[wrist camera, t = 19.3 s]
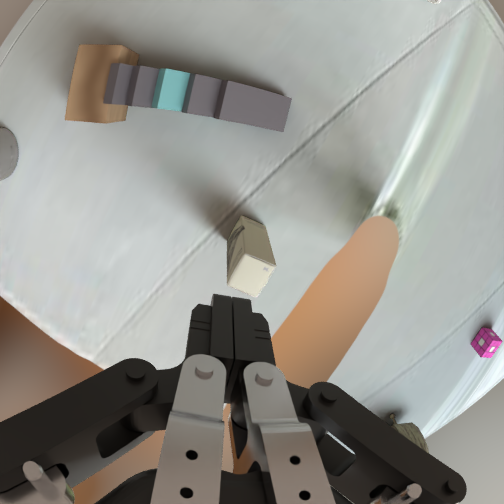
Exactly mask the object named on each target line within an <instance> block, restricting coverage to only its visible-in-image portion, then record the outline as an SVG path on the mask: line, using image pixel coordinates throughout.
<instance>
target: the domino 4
mask: <svg viewBox="0 0 504 504" xmlns="http://www.w3.org/2000/svg"><path fill="white" fill-rule="evenodd" d="M221 83H222V80H221V79H217V78H212V77H208V76H204V75H199V74H190V76H189V81H188V85H187V89H186V93H185V98H184V102H183V107H182V112H184V113H189V114H196V115H202V116H209V117H214V113H215V109H216V104H217V100H218V96H219V92H220V87H221Z"/></svg>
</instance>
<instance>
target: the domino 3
mask: <svg viewBox="0 0 504 504" xmlns="http://www.w3.org/2000/svg"><path fill="white" fill-rule="evenodd" d="M190 74H191V73H186V72H182V71H177V70H172V69H166V68H164V69H160V70H159V74H158V79H157V83H156V88H155V93H154V97H153V102H152V108H158V109H167V110H175V111H182V107H183V102H184V98H185V93H186V89H187V85H188V81H189V76H190Z"/></svg>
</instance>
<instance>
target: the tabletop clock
mask: <svg viewBox="0 0 504 504" xmlns="http://www.w3.org/2000/svg"><path fill="white" fill-rule="evenodd" d="M390 418H391V419H393V422H394V424H393V425H391V427H392V428H394V429H395V430H396V431H398V432H399V433H401V434H402V435H403V436H405V437H406V438H408V439H409V440H410V441H412V442H413V443H415V444H416V445H417V446H419V447H420V448H422V449H423V450H425V451H426V452H427V453H429V452H428V447H427V444H426V442H425V439H424V437H423V435H422V433H421V432H420V430H419V428H418V427H417V426H416V425H414V424H413V423H403V424H397V423H396V421H395V419H394V418H395V415H394V414H391V415H390Z"/></svg>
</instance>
